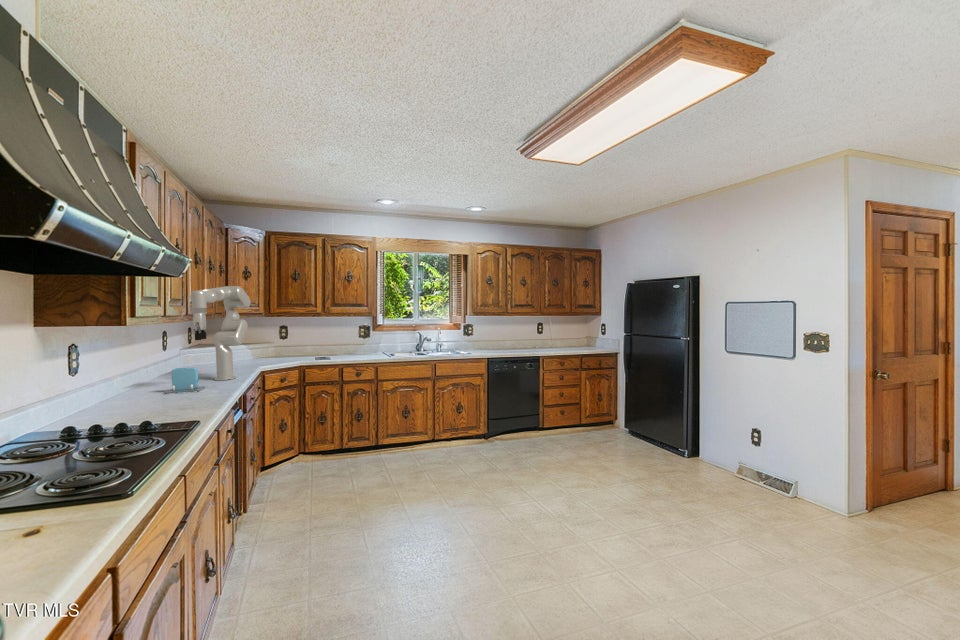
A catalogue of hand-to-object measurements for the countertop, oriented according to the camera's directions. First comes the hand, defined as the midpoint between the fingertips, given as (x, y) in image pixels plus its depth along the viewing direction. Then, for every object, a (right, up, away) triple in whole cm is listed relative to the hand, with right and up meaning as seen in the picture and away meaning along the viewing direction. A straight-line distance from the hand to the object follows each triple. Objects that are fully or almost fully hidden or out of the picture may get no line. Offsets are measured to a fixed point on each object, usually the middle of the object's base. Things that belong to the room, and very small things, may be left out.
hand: (200, 339), depth 275 cm
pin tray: (0, -29, -14) cm, 32 cm away
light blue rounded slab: (0, -28, -14) cm, 31 cm away
